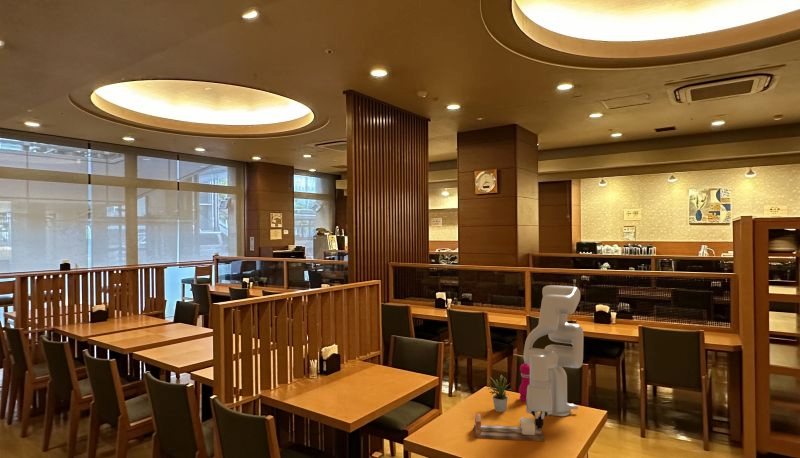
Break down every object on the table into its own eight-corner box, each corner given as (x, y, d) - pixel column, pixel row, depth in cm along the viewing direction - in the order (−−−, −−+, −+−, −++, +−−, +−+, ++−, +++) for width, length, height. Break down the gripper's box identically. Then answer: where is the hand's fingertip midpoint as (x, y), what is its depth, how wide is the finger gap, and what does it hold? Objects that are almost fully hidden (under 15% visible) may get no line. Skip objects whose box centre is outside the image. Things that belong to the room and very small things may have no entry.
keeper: (532, 428, 194) (531, 417, 194) (534, 435, 187) (534, 424, 187) (520, 427, 194) (520, 417, 194) (522, 434, 187) (522, 424, 187)
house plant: (484, 402, 228) (484, 370, 228) (512, 404, 225) (512, 371, 225) (484, 413, 214) (484, 378, 214) (514, 415, 211) (514, 380, 211)
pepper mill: (534, 403, 227) (533, 363, 228) (519, 402, 229) (519, 362, 229) (532, 398, 234) (532, 359, 235) (518, 397, 236) (518, 358, 236)
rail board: (539, 430, 195) (539, 416, 195) (544, 441, 185) (544, 425, 185) (474, 427, 198) (473, 413, 198) (475, 437, 188) (475, 422, 188)
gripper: (555, 381, 193) (555, 424, 193) (519, 379, 195) (519, 422, 195) (559, 387, 186) (559, 432, 185) (522, 385, 187) (522, 430, 187)
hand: (539, 427), depth 190 cm, fingers closed
